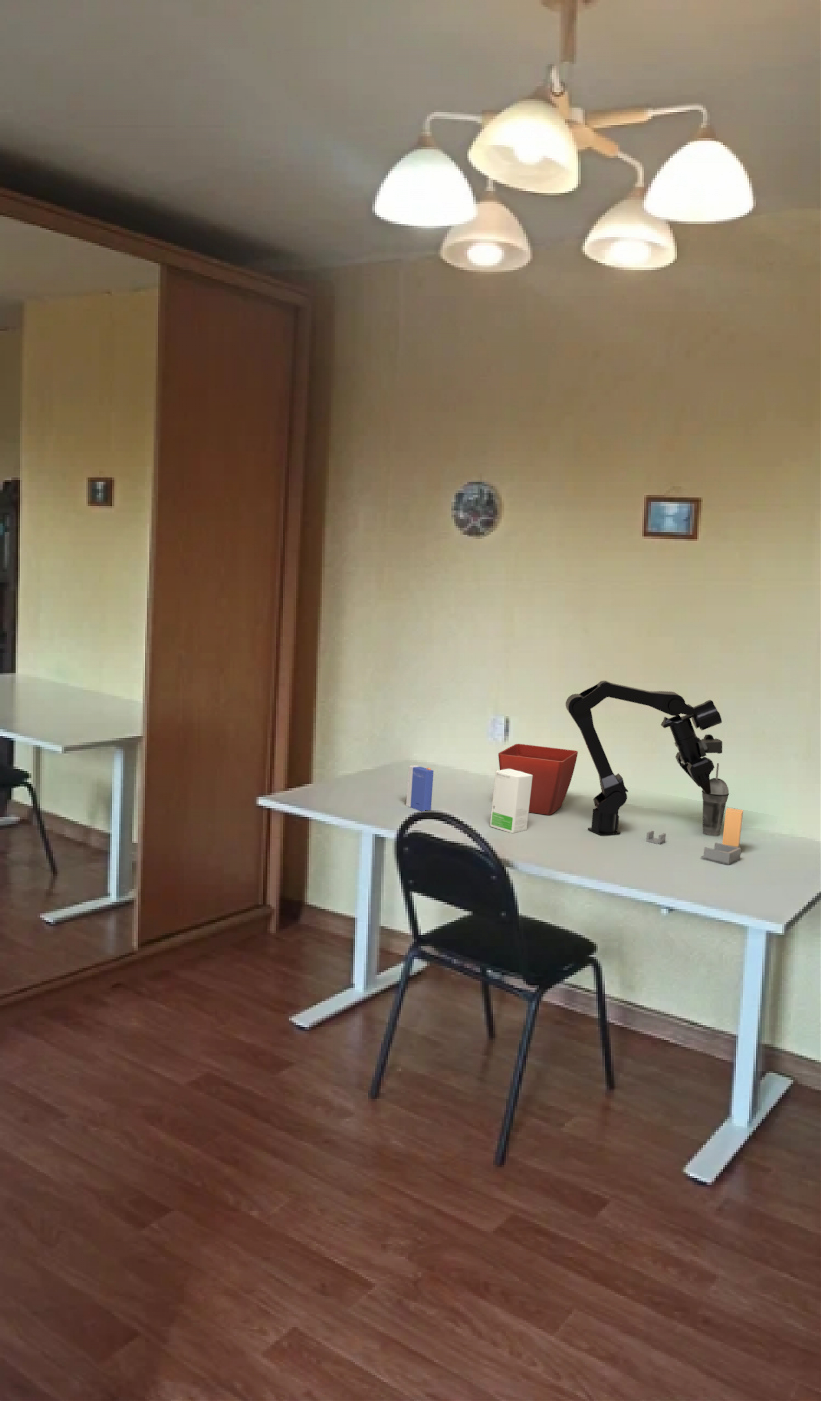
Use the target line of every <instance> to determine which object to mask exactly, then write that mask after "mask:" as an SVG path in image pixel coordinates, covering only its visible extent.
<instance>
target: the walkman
mask: <svg viewBox="0 0 821 1401" xmlns="http://www.w3.org/2000/svg"><path fill="white" fill-rule="evenodd" d="M407 773H408V774H407V775H408V776H407V787H406V801H405V802H406V803H405V804H406V807H408V806H409V808H412V809H415V810H417V811H420V812H423V811H425V810H431V811H432V799H433V798H432V797H433V784H434V770H433V769H432V768H430V767H423V766H420V765H415V764H414V765H408V772H407Z"/></svg>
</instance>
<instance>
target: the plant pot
mask: <svg viewBox="0 0 821 1401" xmlns="http://www.w3.org/2000/svg"><path fill="white" fill-rule="evenodd" d="M578 753H579V751H578V750H572V749H564V748H557V747H550V746H549V747H548V746H541V745H540V746H539V745H532V744H524V743H516V744H513V745H512V746H509V747H507V748H506V749H504V750H502V751H500V752H498V755H497V756H498V764H499V766H498V767H499V770H504V769H513V770H517V771H521V772H524V773H527V774H531V775H533V777H532V785H531V794H530V803H529V812H528V813H531V814H532V813H533V814H540V815H547V816H551V815H552V814H554V813H555V812H557V811H558V810H559V809H560V808H562V806H563V803H564V801H565V799H566V796H567V794H568V790H569V788H570V784H571V781H572V778H573V775H574V771H575V767H576V764H577V763H576V762H577V758H578Z"/></svg>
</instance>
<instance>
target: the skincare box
mask: <svg viewBox="0 0 821 1401" xmlns="http://www.w3.org/2000/svg"><path fill="white" fill-rule="evenodd" d="M494 775H495V776H494V785H493V794H492V803H491V813H490V822H489V823H490V824H489V826H490V827H491V828H494V829H498V830H502V831H504V832H507V833H510V834H516V833H520V831H521V832H525V831H527V829H528V819H529V813H530V812H529V803H530V794H531V785H532V777H533V775H531V774H527V773H524V772H521V771H517V770H513V769H504V770H500V769H499V770H495V774H494ZM524 830H525V831H524Z"/></svg>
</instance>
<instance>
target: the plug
mask: <svg viewBox="0 0 821 1401" xmlns="http://www.w3.org/2000/svg"><path fill="white" fill-rule="evenodd" d="M724 814H725V816H724V824H723V825H724V826H723V834H722V843H721V844H724V845H729V846H733V847H738V848H741V847H740V845H741V837H742V836H741V833H742V824H743V815H744V810H743V809H738V808H731V807H727V808H726V809H725V813H724Z"/></svg>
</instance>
